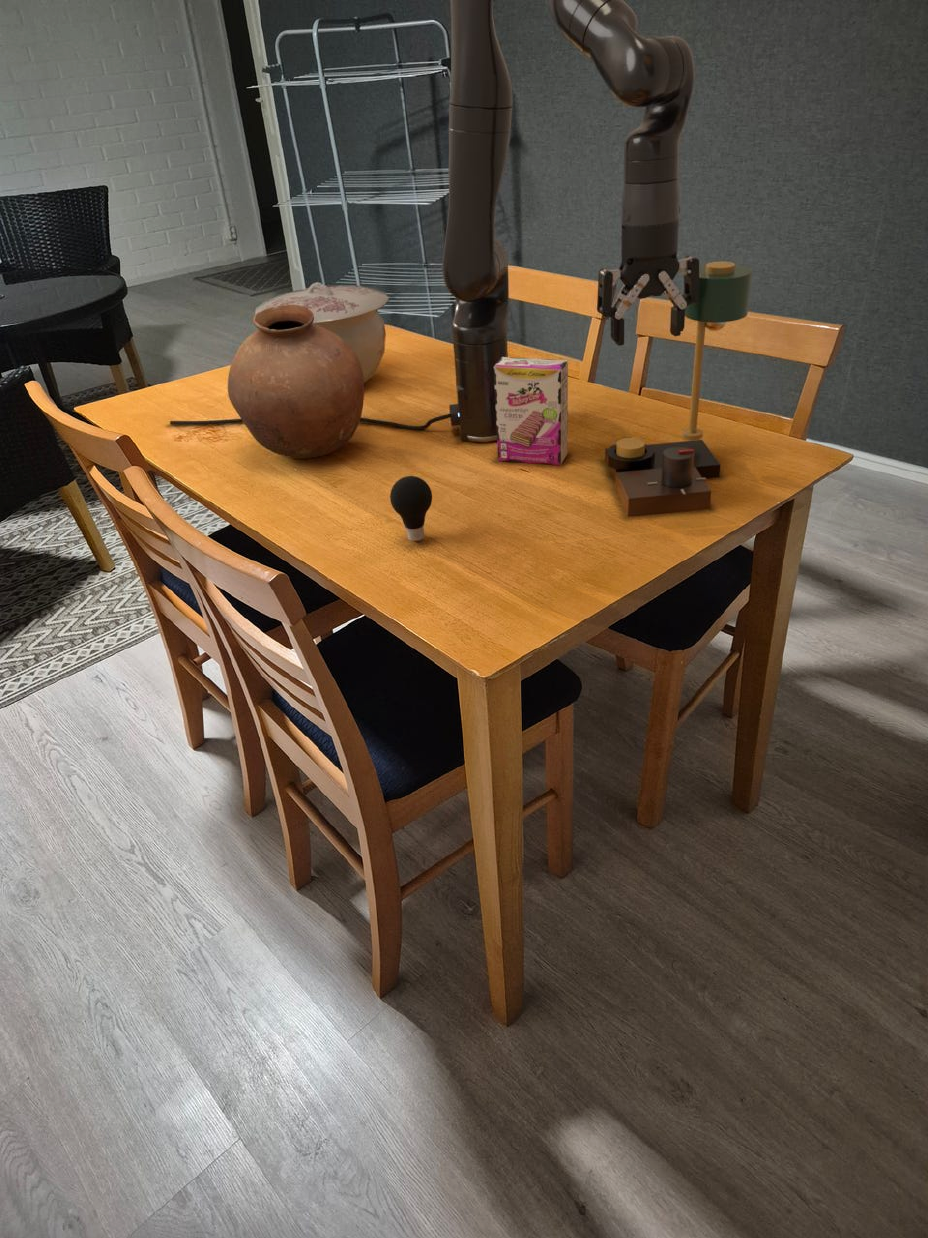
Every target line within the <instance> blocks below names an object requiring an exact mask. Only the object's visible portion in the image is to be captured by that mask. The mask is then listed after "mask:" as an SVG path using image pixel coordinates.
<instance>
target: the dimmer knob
mask: <svg viewBox="0 0 928 1238" xmlns="http://www.w3.org/2000/svg"><path fill="white" fill-rule="evenodd" d="M693 464H694V449H688V448H684V447H672V448H668V449H666V450H665V451H664V452H663V464H662V479H661V481H662V483H663V484H664V485H666V486H669V487H674V488H681V487H686V486H689V485H690V484H691V483H692V476H693Z"/></svg>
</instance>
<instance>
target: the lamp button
mask: <svg viewBox="0 0 928 1238" xmlns="http://www.w3.org/2000/svg"><path fill="white" fill-rule="evenodd" d="M615 444H616V455H618V456H620V457H625V458H637V457H641V456H643V455H644V454H645V444H646V441H644V440H643V439H641V438H638V437H625V438H621V439H618V440H617V441H616V443H615Z"/></svg>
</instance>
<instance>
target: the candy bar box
mask: <svg viewBox="0 0 928 1238" xmlns="http://www.w3.org/2000/svg"><path fill="white" fill-rule="evenodd" d="M494 383H495V405H496V425H497V440H496V443H497V444H496V445H497V447H496V448H497V461H502V462H513V463H523V464H524V463H527V464H537V465H548V466H549V465H550V466H562V464H563V462H564V461H565V459H566V457H567V455H568V450H569V448H568V447H569V446H568V445H569V443H568V438H569V437H568V429H569V428H568V422H569V421H568V419H569V417H568V415H569V413H568V411H569V409H568V408H569V403H568V402H569V401H568V400H569V398H568V397H569V361H568V360H567V359H553V358H552V359H551V358H530V357H512V356H510V357H509V356H508V357H502V358H501V359H500V360H499V361H498V363H496V364H495V366H494Z"/></svg>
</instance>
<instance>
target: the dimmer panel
mask: <svg viewBox="0 0 928 1238" xmlns="http://www.w3.org/2000/svg"><path fill="white" fill-rule="evenodd" d="M661 479H662V468H660V469H650V470H639V471H628V472H617V473H616V483H615V492H616V495H617V497H618V499H619V500H620V503H621V505H622V507H623V509H624V511H625V514H626V516H627V518H629V517H641V516H652V515H661V514H662V515H663V514H672V513H673V514H674V513H684V512H695V511H705V510H707V511H708V510H710V509H711V498H712V490H711V489H710V486H709V485H708V484H707V482H706V481H705V480H707V479H706V478H702V477H701V475H700V474H699V472H698V471H697V469H696V468H695V466H694V465H693V476H692V483H691V484H690V485H689V486H686V487H681V488H674V487H669V486H666V485H664V484H663V483H662V481H661Z"/></svg>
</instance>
